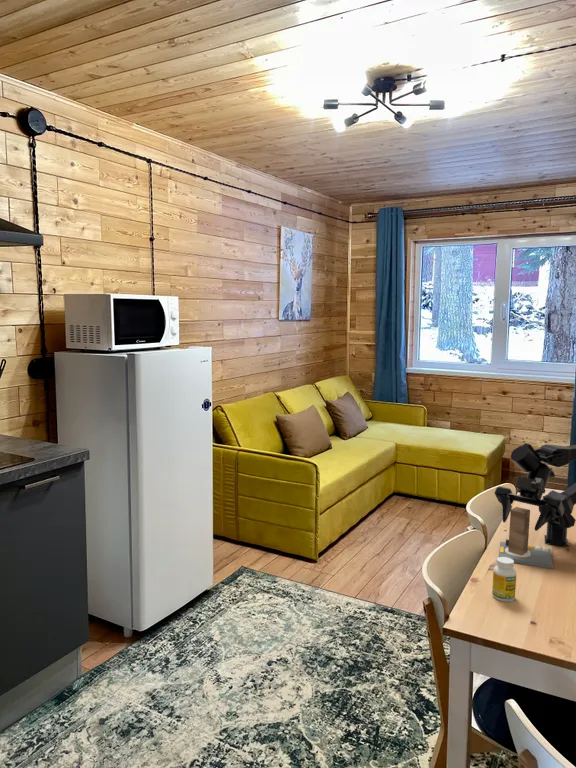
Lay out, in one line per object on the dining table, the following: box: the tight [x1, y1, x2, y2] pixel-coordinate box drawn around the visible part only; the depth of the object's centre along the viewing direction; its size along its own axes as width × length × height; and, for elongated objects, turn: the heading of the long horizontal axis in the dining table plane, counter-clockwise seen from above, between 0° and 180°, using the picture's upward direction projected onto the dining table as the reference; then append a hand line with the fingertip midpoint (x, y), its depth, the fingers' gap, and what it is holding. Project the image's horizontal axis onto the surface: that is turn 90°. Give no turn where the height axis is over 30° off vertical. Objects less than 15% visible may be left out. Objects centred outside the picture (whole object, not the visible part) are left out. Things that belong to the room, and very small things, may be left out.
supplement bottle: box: [491, 556, 517, 603], centre depth 142 cm, size 5×5×10 cm
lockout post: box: [508, 506, 531, 555], centre depth 166 cm, size 4×4×12 cm
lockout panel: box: [498, 538, 553, 570], centre depth 167 cm, size 12×14×3 cm
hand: (519, 525), depth 166 cm, fingers open, 9 cm apart
